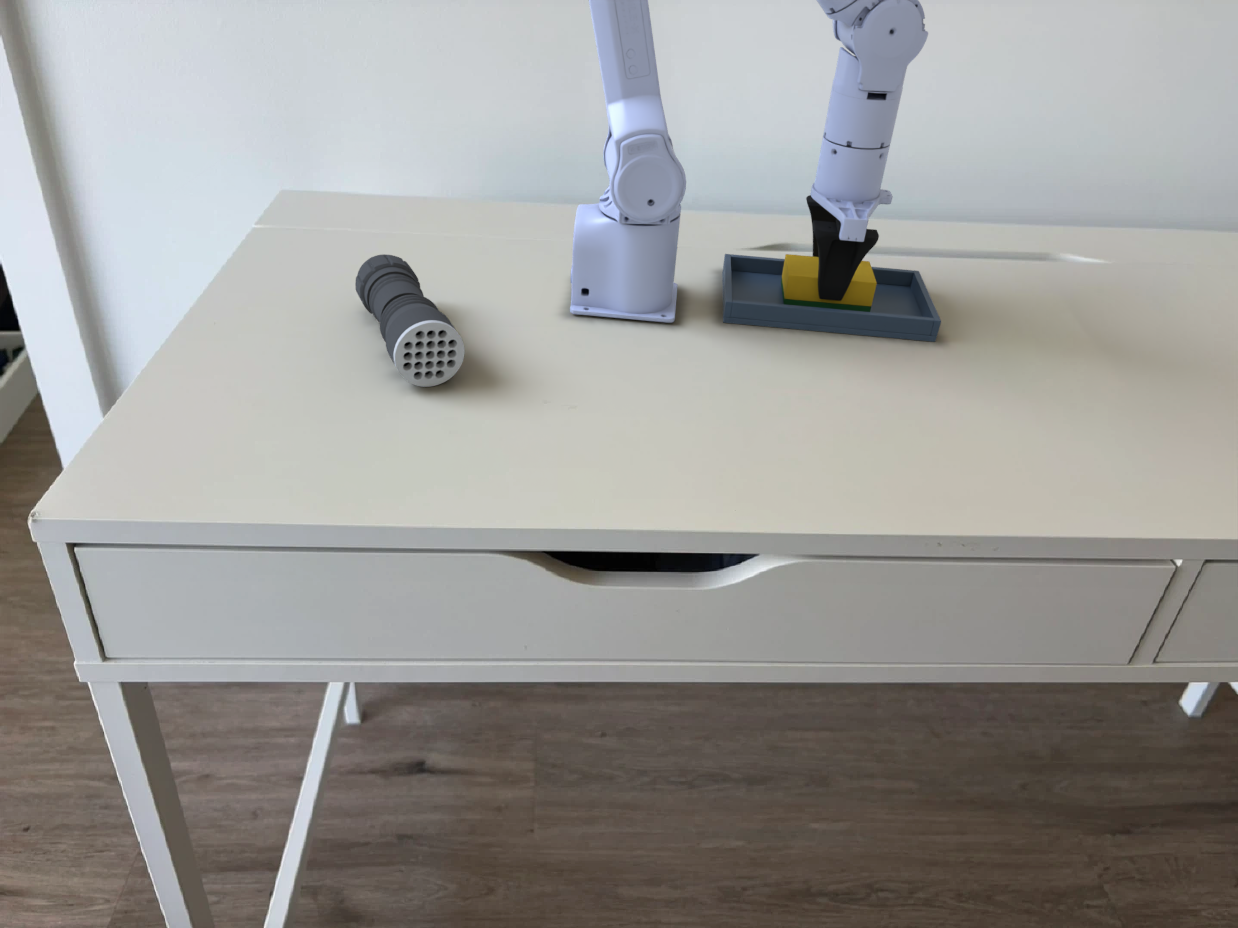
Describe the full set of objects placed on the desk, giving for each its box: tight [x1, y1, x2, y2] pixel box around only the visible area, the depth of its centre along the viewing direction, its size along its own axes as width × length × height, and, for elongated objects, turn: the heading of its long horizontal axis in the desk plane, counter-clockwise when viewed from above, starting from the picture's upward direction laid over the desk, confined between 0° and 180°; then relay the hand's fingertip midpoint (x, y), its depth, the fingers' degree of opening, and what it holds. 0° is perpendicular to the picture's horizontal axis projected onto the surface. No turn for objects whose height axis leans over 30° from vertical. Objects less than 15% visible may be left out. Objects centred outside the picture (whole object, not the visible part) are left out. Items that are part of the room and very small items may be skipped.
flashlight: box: [355, 253, 465, 388], centre depth 76 cm, size 15×5×5 cm, turn 25°
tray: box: [721, 253, 942, 343], centre depth 88 cm, size 19×11×2 cm, turn 85°
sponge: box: [781, 253, 877, 312], centre depth 87 cm, size 8×5×3 cm, turn 85°
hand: (827, 286), depth 87 cm, fingers closed on sponge, 5 cm apart
